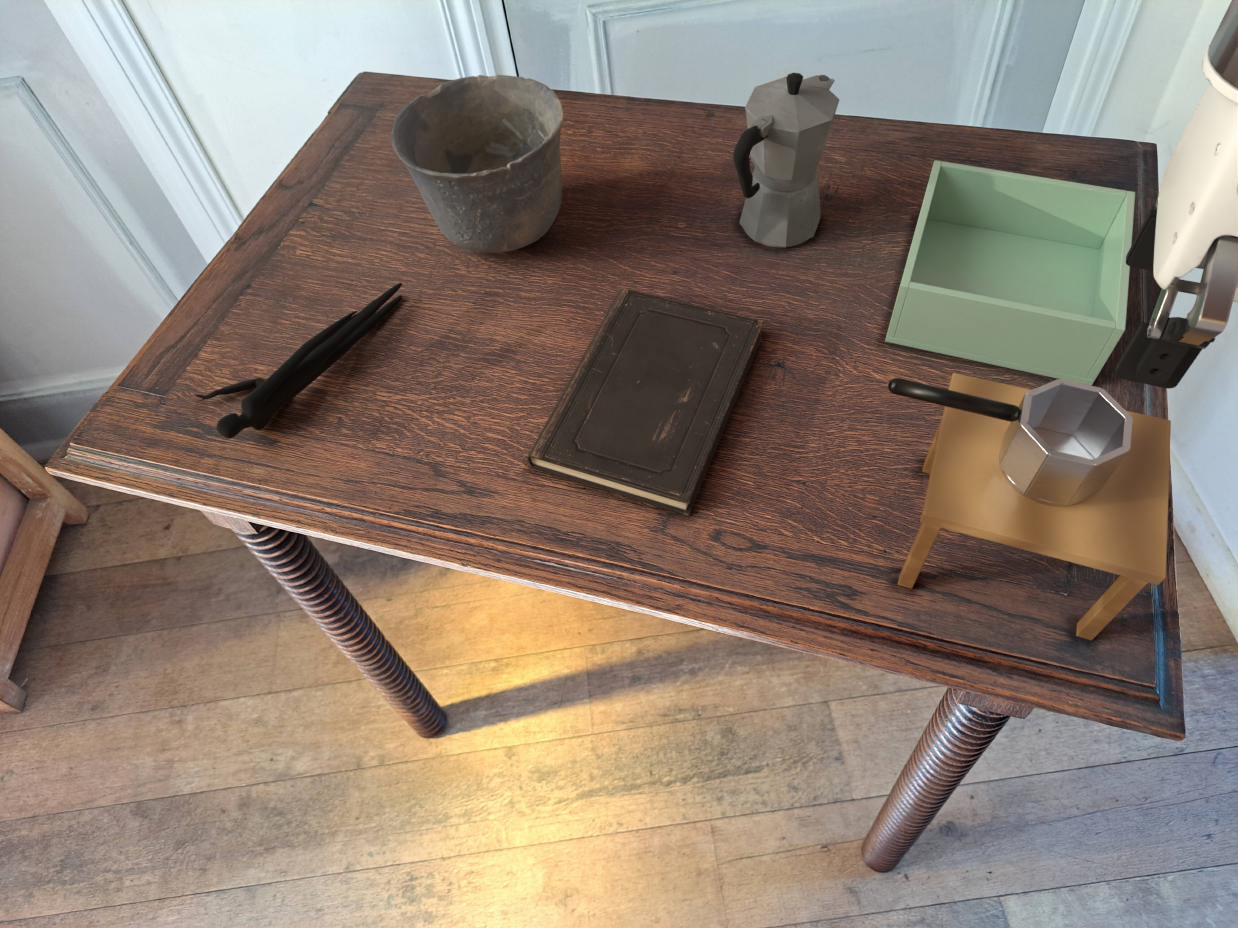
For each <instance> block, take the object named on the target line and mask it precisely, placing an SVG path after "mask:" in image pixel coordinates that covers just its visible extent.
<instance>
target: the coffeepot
mask: <svg viewBox="0 0 1238 928" xmlns="http://www.w3.org/2000/svg"><path fill="white" fill-rule="evenodd" d="M835 81H836V80H835V79H834V78H830V77H829V76H828V75H825V74H819V75H818V74H815V75H812V76H809V77H806V78H804V75H803V74H801V73H800V72H791V73H788V74H787V75H786V76H784V77H781V78H777V79H774V80H771V81H769V82H766V83H763V84H759V85H757V86H754V88H753V90H752V92H751V94H750V96H749V98H748V100H747V102H746V104H745V107H744V110H745V116H746V117H745V118H746V126H747V127H746V128H747V129H745V130H744V131H742V133H741V135H740V137H739V138H738V141H737V143H736V145H735V147H734V149H733V155H732V158H733V163H734V167H735V170H736V174H737V178H738V181H739V185H740V188H741V192H742V195H743V197H744V198H745V199H744V204H743V207H742V211H741V215H740V218H739V219H740V220H739V223H738V224H739V225H740V227H741V228H742V229H743V231H744V232H745V234H746V235H747V236H748V237H749V238H750V239H752V240H753V241H754V242H755V243H757V244H760V245H763V246H765V247H771V248H791V247H795V246H799V245H801V244H803V243H805V242H807V241H808V240H810V239H812V238H814V236H815V234H816V231H817V229H818V225H819V223H820V220H821V218H822V215H821V195H820V178H819V172H818V168H819V165H820V163H821V160H822V158H823V154H824V150H825V147H826V144H827V141H828V138H829V135H830V132H831V129H832V125H833V122H834V119H835V116H836V112H837V109H838V106H839V103H840V98H839V97H838V96H836V94H835V93H833V92H832V91H831V88H832V86H833V84H834V83H835ZM751 163H752V164H753V165H754V169H753V171H751Z"/></svg>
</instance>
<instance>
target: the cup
mask: <svg viewBox="0 0 1238 928" xmlns="http://www.w3.org/2000/svg"><path fill="white" fill-rule="evenodd" d="M563 123H564V110H563V105H562V102H561V100H560V99H559V97H558V96H557V94H556V92H555V91H554V90H552V89H551V88H550V87H549V86H548V85H547V84H544V83H542V82H540V81H538V80H536V79H533V78H530V77H528V78H525V77H523V76H514V75H504V74H495V75H491V76H489V75H483V74H478V75H477V76H475V75H471V76H464V77H459V78H456V79H455V78H454V79H451V80H448V81H446V82H443V83H441V84H439V85H438V86H437V87H436V88H435V89H433V90H432V91H430V92H429V93H426V94H419V95H418V96H416V97H415V98H414V99H413V100H412V101H411V102H409V103H406V105H404V106H403V107H402V108H401V109H400V110H399V111H398V113H397V114H396V117H395V119H394V121H393V124H392V128H391V134H390V141H391V146H392V149H393V151H394V152H395V154H396V155H397V157H398V158H399V159H400V160H401V162H402V163H403V164H404V166H405V168H406V169H407V171H408V172H409V174H410V176H411V178H412V180H413V182H414V184H415V185H416V187H417V189H418V191H419V194H420V196H421V198H422V200H423V202H424V204H425V206H426V208H427V209H428V211H429V213H430V214H431V217H432V218H433V220H434V222H435V224H436V225H437V227H438V229H439V230H440V232H441V233H442V234H443V236H444V237H445V238H446V239H447V240H448V241H450V242H451V243H452V244H453V245H455V246H457V247H459V248H461V249H465V250H468V251H471V252H475V253H476V252H477V253H485V254H486V253H488V254H493V253H508V252H513V251H517V250H519V249H523V248H525V247H527V246H529V245H531V244H533V243H535V242H538V240H540V239H541V238H542V237H544V236H545V234H547V233H548V232H549V231H550V229H551V227H552V226H553V224H554V222H555V220H556V218H557V216H558V214H559V212H560V209H561V205H562V200H563V180H562V179H563V178H562V159H561V146H560V145H561V144H560V143H561V134H562V128H563Z"/></svg>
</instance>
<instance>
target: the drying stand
mask: <svg viewBox="0 0 1238 928" xmlns="http://www.w3.org/2000/svg"><path fill="white" fill-rule="evenodd" d="M947 389H948V390H952V391H956V392H960V393H965V394H969V395H973V396H978V397H982V398H986V399H990V400H995V401H999V402H1003V403H1008V404H1012V405H1016V406H1018V407H1019V405H1020V403H1021V401H1022V399H1023V397H1024V395H1025V394H1026V392H1029V391H1031V390H1032V389H1029V388H1025V387H1021V386H1014V385H1010V384H1006V383H1001V382H997V381H993V380H988V379H983V378H979V377H974V376H970V375H966V374H961V373H958V372H957V373H956V372H953V373H952V374H951V377H950V380H949V383H948V387H947ZM1126 411H1127V412H1128V413H1129V414H1130V415H1131V416H1132V417H1131V418H1132V419H1133V420H1132V432H1131V445H1130V450H1129V452H1128V453H1127V454H1126V456H1125V457H1124V458H1123V460H1122V461H1121V463H1120V464H1119V465H1118V467H1117V468H1116V469H1115V471H1114V472H1113V474H1112V475H1111V476H1110V478H1109V479H1108V480H1107V482H1106V483H1105V485H1104V486H1103V487H1102V489H1101V490H1100V491H1099V492H1097V493H1095V494H1093V495H1091V496H1090V497H1089V498H1088V499H1086V500H1084V501H1083V502H1080V503H1078V504H1075V505H1070V506H1049V505H1045V504H1041V503H1038V502H1035V501H1033V500H1030V499H1028V498H1027V497H1025V496H1023V495H1022V494H1020V493H1019V492H1017V491H1016V490H1015V489H1014V488H1013V487H1012V486H1011V485H1010V484H1009V483H1008V481H1007V480H1006V479H1005V477H1004V475H1003V474H1002V471H1001V469H1000V466H999V453H1000V449H1001V447H1002V443H1003V437H1004V434H1005V432H1006V430H1007V428H1008V426H1009V425H1010V423H1011V422H1009V421H1005V420H1001V419H997V418H992V417H988V416H984V415H980V414H976V413H971V412H967V411H963V410H959V409H955V408H950V407H946V406H943V411H942V416H941V418H940V421H939V424H938V427H937V429H936V432H935V434H934V437H933V439H932V442H931V443H930V447H929V449H928V451H927V454H926V457H925V459H924V461H923V462H924V463H923V466H922V473H924V474H929V477H928V483H927V487H926V491H925V498H924V501H923V506H922V509H921V510H922V511H921V515H920V520H919V522H920V523H921V524H920V526H919V529H918V532H917V533H916V536H915V538H914V540H913V543H912V544H911V547H910V550H909V552H908V554H907V557H906V559H905V561H904V563H903V565H902V567H901V570H900V573H899V577H898V581H897V585H898V586H900V587H903V588H907V589H913V587H914V585H915V583H916V582H917V579H918V578H919V575H920V573H921V571H922V569H923V567H924V565H925V562H926V560H927V558H928V556H929V554H930V552H931V549H932V548H933V546H934V543H935V541H936V539H937V537H938V535H939V533H940V531H941V529H945V530H948V531H952V532H956V533H960V534H963V535H966V536H970V537H974V538H979V539H982V540H986V541H990V542H994V543H997V544H1001V545H1005V546H1008V547H1012V548H1016V549H1020V550H1024V551H1027V552H1030V553H1031V552H1032V553H1035V554H1039V555H1042V556H1045V557H1050V558H1053V559H1057V560H1061V561H1065V562H1069V563H1072V564H1077V565H1079V566H1084V567H1088V568H1091V569H1095V570H1098V571H1099V570H1100V571H1103V572H1106V573H1110V574H1114V575H1118V577H1117V579H1115V580H1114V582H1113V583H1112V584H1111V585H1110V586H1109V587H1108V588H1107V589H1106V591H1105V592H1104V593H1103V594H1102V595H1101V596H1100V597H1099V599H1098V600H1096V602H1095V603H1094V604H1093V605H1092V606H1091V607H1090V608H1089V610H1087V612H1086V613H1085V614H1084V615H1083V616H1082V617H1081V618H1080V619H1079V621H1078V622H1077V623H1076V632H1075V636H1076V637H1079V638H1082V639H1085V640H1089V641H1093V640H1094V639H1095V638H1096V637H1097V636H1098V635H1099V634H1100V633H1101V632H1102V631H1103V630H1104V629H1105V628H1106V627H1107V625H1109V624H1110V623H1111V622H1112V620H1113V619H1114V618H1116V616H1117V615H1119V613H1120V612H1121V611H1122V610H1123V609H1124V608H1125V607H1126V606H1127V605H1128V604H1129V603H1130V602H1131V601H1132V600H1133V599H1134V598H1135V597H1136V596H1137V595H1138V594H1139V593H1140V592H1141V591H1142V589H1144V588H1145V587H1146V586H1147V585H1148V584H1152V585H1155V586H1159V585H1160V584H1162V582H1164V580H1165V579H1166V578H1167V553H1168V528H1169V527H1168V525H1169V524H1168V523H1169V491H1170V463H1171V460H1170V458H1171V430H1172V428H1171V427H1172V424H1171V423H1172V421H1171V420H1170V419H1165V418H1162V417H1156V416H1151V415H1147V414H1143V413H1138V412H1133V411H1129V410H1126Z"/></svg>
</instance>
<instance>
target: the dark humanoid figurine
mask: <svg viewBox="0 0 1238 928" xmlns="http://www.w3.org/2000/svg"><path fill="white" fill-rule="evenodd" d="M402 286H403V283H402V282H399V283H397V284H394V286H392V287H391V288H388V290H386V291H385V292H383V293H382V294H381V295H379V296H378V297H376V298H375V299H374V300H372V301H371V302H369V303H368V304H367V305H366V306H364V307H363V308H362V309H361V310H360V311H358V310H354V311H352V312H350V313H348V314H346V315H344V316H343V317H341V318H340V319H338V320H337V321H335V322H333V323H332V324H330V325H329V326H328V327H325V328H324V329H323V330H321V331H320V332H319V333H317V334H316V335H314V336H313V337H311V338H310V339H309V340H307V341H305V342H304V343H303V344H302V345H301V346H300V347H299V348H298V349H297V350H295V352H294V353H293V354H292V355H291V356H289V358H288V359H286V361H284V362H283V363H282V364H281V365H280V366H279V367H278V368H277V369H276V370H275V371H274V372H273V373H271V375H269V376H268V377H267V378H266V379H263V378H262V377H256V378H252V379H247V380H243V381H240V382H236V383H233V384H230V385H227V386H224V387H222V388H219V389H215V390H213V391H211V392H209V393H207V394H205V395H203V394H194V396H195V397H197V398H199V400H197V401H196V402H202V401H204V400H210V399H213V398H215V397H217V396H225V395H226V396H228V395H232V394H236V393H240V392H244V391H248V390H251V389H253V390H252V391H251V392H249V393H248V394H247V395H246V396H245V397H243V398H242V400H241V403H240V407H241V413H240V415H239V414H238V413H236V412H233V413H229V414H226V415H224V416H222V417H221V418H219V420H218V421H217V422H216V431H217V433H218V434H219V435H221V436H222V437H223V438H226V439H233V438H235V437H236V436H237V435H239V433H241V432H242V431H243V430H245V429H248V428H252V429H253V430H256V431H262V430H263V429H264V428H265V427H266V426H267V425H268V423H269V422H270V420H271V419H272V418H273V417H274V416H275V414H276V413H277V412H278V411H279V410H280V409H281V408H282V407H284V406H285V405H287V404H288V403H289V402H290V401H291V400H293V399H294V398H295V397H296V396H298V395H299V394H301V392H303V391H304V390H305V389H306V388H308V387H309V386H310V385H311V384H313V383H314V381H316V380H317V379H318V378H319V377H320V376H322V375H323V374H324V373H325V372H326V371H327V370H328V369H329V368H331V367H332V366H333V365H334V364H335V363H336V362H337V361H339V360H340V359H341V358H342V357H344V355H346V354H347V353H348V352H349V351H350V350H351V349H352V348H353V347H354V346H355V345H356V344H357V343H358V342H359V341H360V340H361V339H362V338H364V337H365V336H366V335H367V334H369V333H370V332H371V331H372V330H374V329H375V328H376V327H377V326H378V325H379V324H380V323H381V322H382V321H383V320H384V319H385V318H386V317H387V316H388V315H389V314H390V313H391V312H392V311H393V310H394V309H395V308H396V307H397V305H398V304H399V303H400V302H401V301H402V299H403V295H398V296H396V297H395V298H393V299H391V298H392V297H394V295H395V294H396V293H397V292H398V291H399V290H400V289H401V288H402ZM390 299H391V300H390ZM388 301H389V302H388ZM387 302H388V303H387ZM384 304H385V305H384ZM383 305H384V306H383ZM382 306H383V307H382ZM357 312H358V313H357Z"/></svg>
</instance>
